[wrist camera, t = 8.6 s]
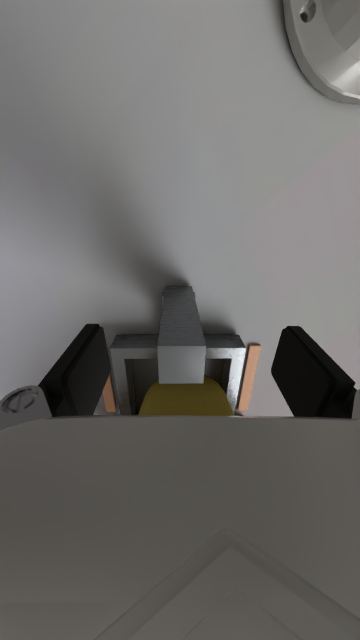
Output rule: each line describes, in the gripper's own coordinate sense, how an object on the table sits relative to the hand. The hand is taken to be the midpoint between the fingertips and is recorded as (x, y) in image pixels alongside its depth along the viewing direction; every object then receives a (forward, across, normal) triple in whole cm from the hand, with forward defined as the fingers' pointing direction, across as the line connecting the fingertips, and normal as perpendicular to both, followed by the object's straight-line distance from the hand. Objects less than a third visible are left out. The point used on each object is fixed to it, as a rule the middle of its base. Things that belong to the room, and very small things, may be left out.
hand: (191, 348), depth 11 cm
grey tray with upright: (+10, +1, +9) cm, 13 cm away
